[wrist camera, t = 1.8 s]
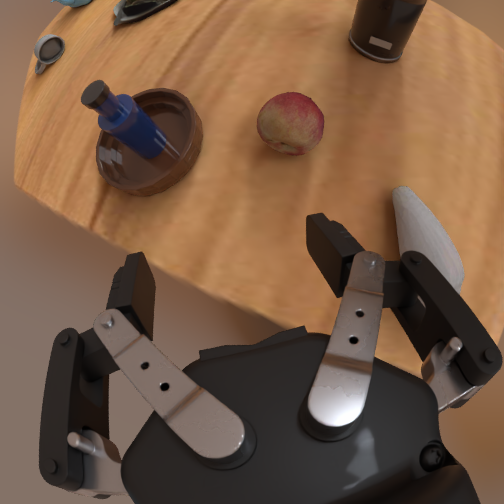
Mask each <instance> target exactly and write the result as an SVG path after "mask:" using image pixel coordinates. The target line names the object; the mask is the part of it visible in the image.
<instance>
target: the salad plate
mask: <svg viewBox="0 0 504 504" xmlns="http://www.w3.org/2000/svg"><path fill="white" fill-rule="evenodd" d="M176 1H177V0H121V1H120V2H119V3H118V4H117V5H116V6H115V7H114V9H113V11H114V14H115V15H116V16H117V17H116V18H115V21H114V25H116V26H117V25H118V24H122V23H133V22H137V21H140V20H143V19H145V18H147V17H149V16H151V15H153V14H155V13H157V12H159V11H161V10H163V9H164V8H166V7H168V6H170V5H171V4H173V3H174V2H176Z"/></svg>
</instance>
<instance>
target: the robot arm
mask: <svg viewBox="0 0 504 504" xmlns="http://www.w3.org/2000/svg"><path fill="white" fill-rule="evenodd" d="M426 2H427V0H358V2H357V6H356V11H355V15H354V19H353V23H352V28H351V30H350V33H349V40H350V43H351V44H352V46H353V47H354V48H355V49H356V50H357V51H358V52H360V53H361V54H363V55H364V56H366V57H368V58H370V59H372V60H375V61H379V62H384V63H392V62H395V61H397V60H399V58H400V57H401V55H402V52H403V49H404V47H405V45H406V44H407V42H408V40H409V38H410V36H411V33H412V31H413V29H414V27H415V25H416V23H417V21H418V19H419V17H420V15H421V13H422V10H423V8H424V6H425V4H426ZM306 244H307V249H308V252H309V254H310V256H311V257H312V259H313V260H314V262H315V263H316V265H317V267H318V268H319V270H320V271H321V273H322V274H323V276H324V278H325V279H326V281H327V282H328V284H329V286H330V287H331V289H332V291H333V292H334V294H335V295H336V297H337V298H340V297H342V301H341V304H340V308H339V311H338V315H337V318H336V321H335V325H334V328H333V331H332V334H331V335H327V334H323V333H307V331H306V328H305V326H301V327H297V328H293V329H290V330H286V331H282V332H279V333H277V334H275V335H273V336H271V337H269V338H267V339H265V340H263V341H261V342H259V343H257V344H254V345H224V346H220V347H215V348H211V349H205V350H200V351H199V354H200V359H198V360H196V361H194V362H192V363H191V364H189V365H188V366H186V367H185V368H184V369H183V370H182V371H181V370H180V369H179V368H178V367H177V366H176V365H175V364H174V363H172V361H170V360H169V359H168V358H167V357H166V356H165V355H164V354H163V353H162V352H161V351H160V350H159V349H158V348H156V346H155V345H154V344H153V343H152V342H151V341H153V320H154V304H155V290H156V286H155V280H154V277H153V274H152V272H151V270H150V267H149V265H148V263H147V260H146V258H145V255H144V253H143V252H138V253H133V254H129V255H127V258H126V261H125V265H124V266H123V267H120V268H119V269H118V271H117V272H116V273H115V275H114V278H113V282H112V283H113V284H112V286H111V290H110V294H109V298H108V303H107V307H106V310H105V311H103V312H102V313H100V314H99V315H98V317H97V318H96V319H95V321H94V324H93V328H91V329H89V330H87V331H85V332H83V333H81V334H79V333H78V332H77V331H76V330H75V329H74V328H67V329H64V330H62V331H61V332H60V333H59V334H58V335H57V336H56V338H55V340H54V343H53V347H52V352H51V356H50V361H49V367H48V372H47V378H46V384H45V390H44V397H43V404H42V413H41V425H40V441H39V469H40V473H41V475H42V477H43V478H44V480H46V482H47V483H49V484H51V485H53V486H56V487H59V488H62V489H65V490H66V491H69V492H72V493H76V494H79V495H83V496H87V497H94V498H98V499H106V498H108V497H110V496H111V495H125V496H130V497H131V499H132V500H133V502H134V503H135V504H480V501H479V498H478V496H477V493H476V491H475V489H474V486H473V484H472V481H471V479H470V477H469V474H468V473H467V471H466V470H465V468H464V467H463V466H462V465H461V464H460V463H459V462H458V461H457V460H456V459H455V458H454V457H453V456H452V455H451V454H450V453H449V452H448V450H447V449H446V448H445V446H444V445H443V443H442V440H441V436H440V431H439V421H438V414H439V413H441V412H442V411H444V410H446V409H447V408H449V407H451V408H459V407H461V406H462V405H464V404H465V403H466V402H467V401H468V400H469V399H470V398H471V397H473V396H474V395H475V394H476V393H477V392H478V391H479V390H480V389H481V388H482V387H483V386H484V385H485V384H486V383H487V382H488V381H489V380H490V379H491V378H492V377H493V376H494V375H495V374H496V373H497V372H498V371H499V370H500V368H501V366H502V355H501V352H500V350H499V349H498V347H497V346H496V344H495V343H494V341H493V340H492V338H491V337H490V335H489V334H488V332H487V331H486V329H485V328H484V327H483V325H482V324H481V322H480V321H479V320H478V318H477V317H476V316H475V314H474V313H473V312H472V310H471V309H470V308H469V306H468V305H467V304H466V303H465V301H464V300H463V299H462V297H461V296H460V295H459V294H458V293H457V291H456V290H455V289H454V288H453V286H452V285H451V284H450V283H449V282H448V281H447V279H446V278H445V277H444V276H443V275H442V274H441V272H440V271H439V270H438V269H437V268H436V267H435V266H434V264H433V263H432V262H431V261H430V260H429V259H428V258H427V257H426V256H425V255H424V254H422V253H420V252H418V251H412V250H410V251H406V252H404V253H403V254H402V256H401V259H400V261H385V260H384V258H383V257H382V256H381V255H379V254H377V253H375V252H371V251H365V249H364V248H363V247H362V246H361V245H360V244H359V243H358V242H357V240H356V239H355V238H354V237H352V235H351V234H350V233H349V232H348V231H347V230H346V228H345V227H344V226H343V225H342V224H340V223H338V222H336V221H334V220H333V221H329V220H328V218H327V217H326V216H325V215H324V214H323V213H317V214H312V215H308V216H307V217H306ZM418 296H419V297H420V298H421V300H422V301H423V302H424V305H425V307H424V306H423V304H422V303H421V301H420V300H419V299H418ZM382 308H391V310H392V311H393V313H394V314H395V316H396V318H397V319H398V321H399V322H400V324H401V326H402V327H403V329H404V331H405V332H406V334H407V336H408V337H409V339H410V341H411V342H412V344H413V346H414V347H415V349H416V351H417V353H418V354H419V356H420V358H421V360H422V361H423V364H422V367H421V374H422V377H423V380H422V379H420V378H418V377H416V376H414V375H412V374H410V373H408V372H406V371H403V370H401V369H399V368H397V367H395V366H393V365H391V364H389V363H387V362H385V361H382V360H380V359H378V358H376V357H374V355H375V349H376V344H377V338H378V332H379V326H380V320H381V313H382ZM120 369H121V370H122V372H123V373H124V374H125V375H126V377H127V378H128V379H129V380H130V382H131V383H132V384H133V385H134V387H135V388H136V389H137V390H138V392H139V393H140V394H141V395H142V396H143V397H144V398H145V400H146V401H147V402H148V403H149V404H150V405H151V406H152V408H153V409H154V411H153V413H152V414H151V415H150V417H149V419H148V420H147V422H146V423H145V424H144V426H143V427H142V429H141V430H140V432H139V433H138V435H137V436H136V438H135V439H134V441H133V442H132V444H131V445H130V447H129V448H128V450H127V451H126V453H125V454H124V457H123V459H122V460H121V458H120V455H119V451H118V448H117V447H116V445H115V444H114V443H113V442H111V441H110V440H109V411H108V409H109V407H108V404H109V401H108V399H109V397H108V396H109V374H111V373H113V372H115V371H117V370H120Z"/></svg>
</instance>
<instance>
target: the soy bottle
mask: <svg viewBox="0 0 504 504" xmlns="http://www.w3.org/2000/svg"><path fill="white" fill-rule="evenodd" d="M81 102H82V104H83V105H85V106H86V107H87V108H89V109H93V110H94V111H96V112H97V113H98V114H99V117H98V124H99V126H100V128H101V129H102V130H104V131H105V132H107V133H108V134H109V135H111V136H112V137H114V138H115V139H116V140H118V141H119V142H120V143H122V144H123V145H125V146H126V147H127V148H129V149H130V150H131V151H133V152H134V153H135V154H137V155H138V156H140V157H141V158H143V159H152V158H154V157H156V156H158V155H159V154H160V153H161V152H162V151H163V149H164V147H165V145H166V135H165V133H164V132H163V131H162V130H161V129H160V127H159V126H158V125H157V124H156V123H155V122H154V121H153V120H152V119H151V118H150V117H149V116H148V115H147V114H146V113H145V111H144V110H143V109H142V108H141V107H140V106H139V105H138V104H137V103H136V102H135V101H134V100H133V99H132V98H131V97H130V96H129V95H126V94H121V95H117V96H115V95H114V94H113V93H112V92H111V91H110V89H109V87H108V86H107V85H106V84H105V83H104V82H103V81H102V80H97V81H94V82H93V83H91V84H90V85H89V86H88V87H87V88H86V89H85V90H84V92H83V94H82V96H81Z"/></svg>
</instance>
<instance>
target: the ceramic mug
mask: <svg viewBox="0 0 504 504" xmlns="http://www.w3.org/2000/svg"><path fill="white" fill-rule="evenodd" d="M64 49H65V42H64V40H63V39H62V38H61V37H59V36H55V35H52V34H50V35H46V36H44V37H42V38H41V39H40V40H39V41H38V42H37V43H36V45H35V49H34V53H35V56H36V57H37V58H38V61H37V64H36V67H35V73H36V74H41V73H42V72H43V71H44V69H45V67H46V65H47V64H51V63H53V62H55V61H56V60H58V59H59V58H60V57H61V55H62V54H63V52H64ZM41 63H42V64H41Z"/></svg>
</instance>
